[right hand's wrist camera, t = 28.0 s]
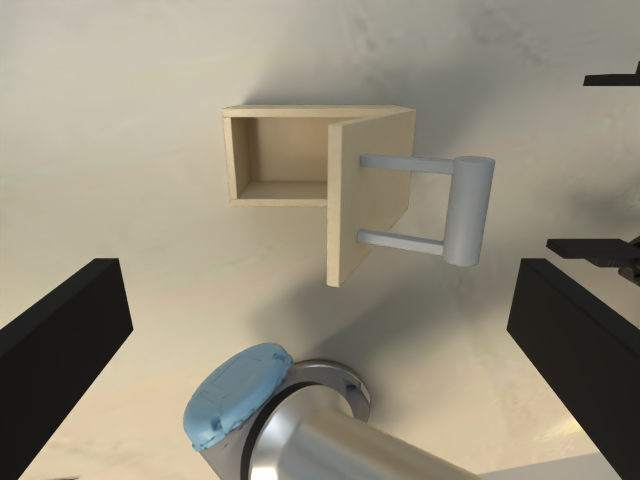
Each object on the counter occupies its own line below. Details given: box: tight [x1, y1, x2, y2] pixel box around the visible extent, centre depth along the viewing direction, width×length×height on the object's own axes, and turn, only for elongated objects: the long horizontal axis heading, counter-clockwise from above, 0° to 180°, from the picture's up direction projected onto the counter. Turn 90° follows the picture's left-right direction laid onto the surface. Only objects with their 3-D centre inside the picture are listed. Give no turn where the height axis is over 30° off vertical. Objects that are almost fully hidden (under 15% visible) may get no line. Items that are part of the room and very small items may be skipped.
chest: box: [222, 105, 410, 207], centre depth 41 cm, size 17×9×9 cm, turn 90°
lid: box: [327, 109, 495, 287], centre depth 27 cm, size 18×9×8 cm
